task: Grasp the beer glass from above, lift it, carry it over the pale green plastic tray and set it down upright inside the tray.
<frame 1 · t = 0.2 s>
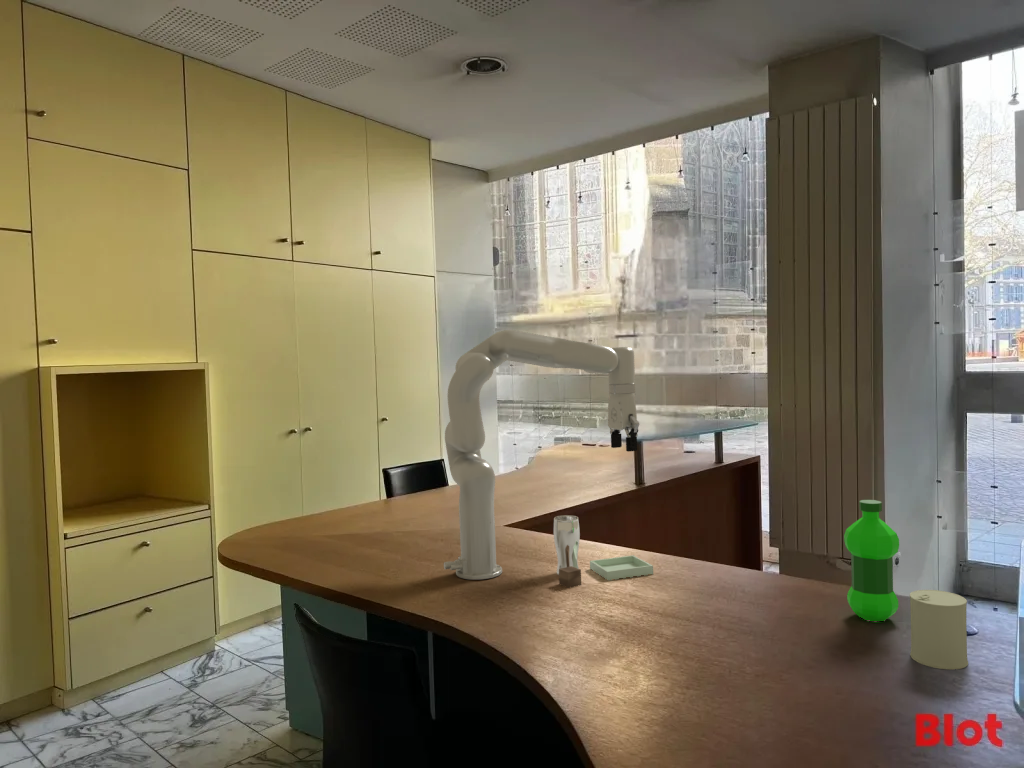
hand: (623, 449, 212), 31 cm above the table, tool pointing down, fingers open, 9 cm apart
beer glass: (568, 574, 197), on the table
walnut block: (570, 584, 187), on the table
can: (938, 660, 135), on the table
tray: (621, 571, 196), on the table
plastic bottle: (872, 618, 156), on the table
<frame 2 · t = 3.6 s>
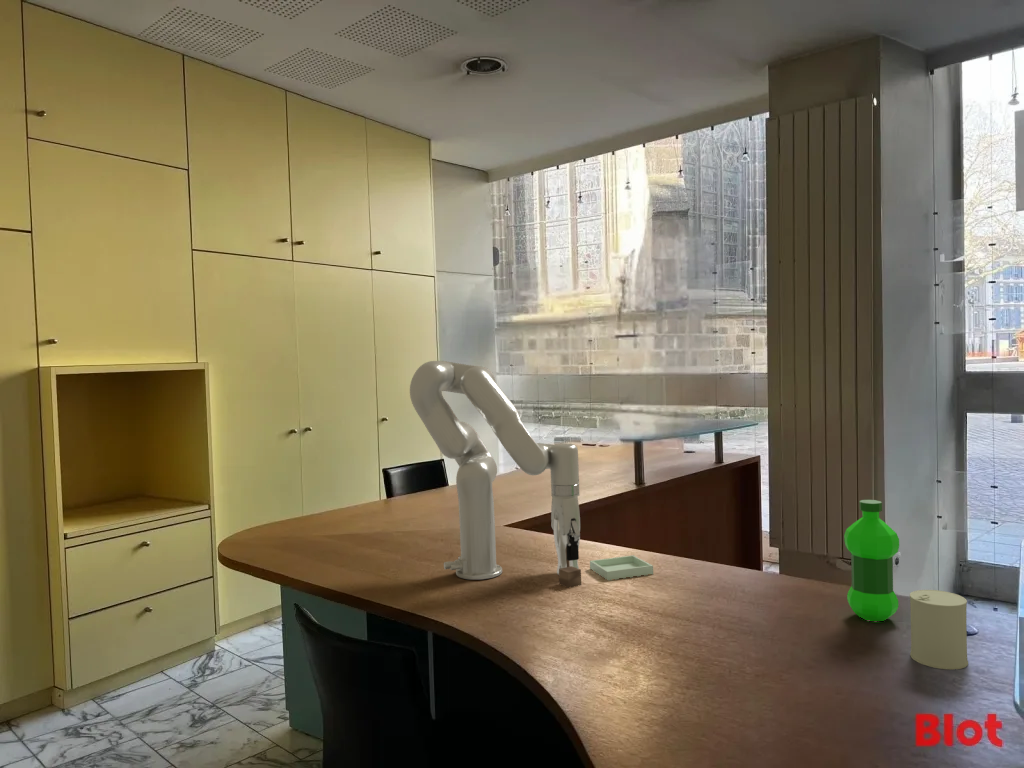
hand: (567, 556, 197), 5 cm above the table, tool pointing down, fingers closed on beer glass, 6 cm apart
beer glass: (568, 574, 197), on the table, touching gripper
everything else where it was.
when the fingers open (6 cm above the table, at t = 9.2 s): beer glass drops 1 cm, resting on tray.
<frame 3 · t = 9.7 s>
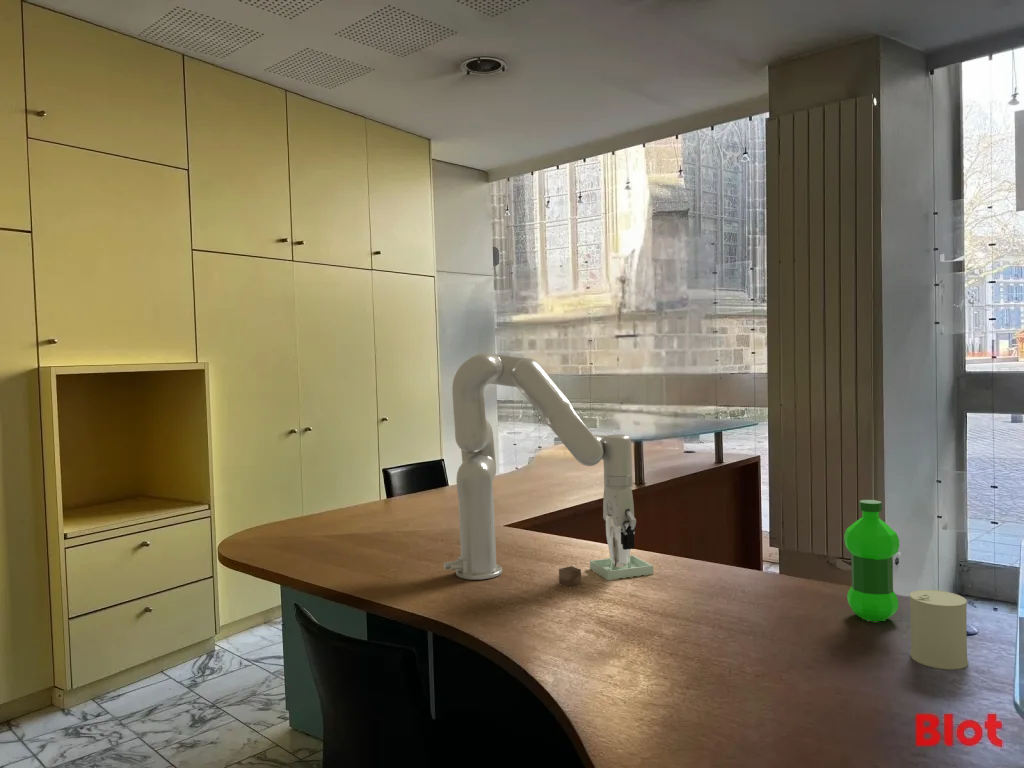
hand: (620, 544, 196), 7 cm above the table, tool pointing down, fingers open, 9 cm apart
beer glass: (620, 570, 196), resting on tray
everything else where it was.
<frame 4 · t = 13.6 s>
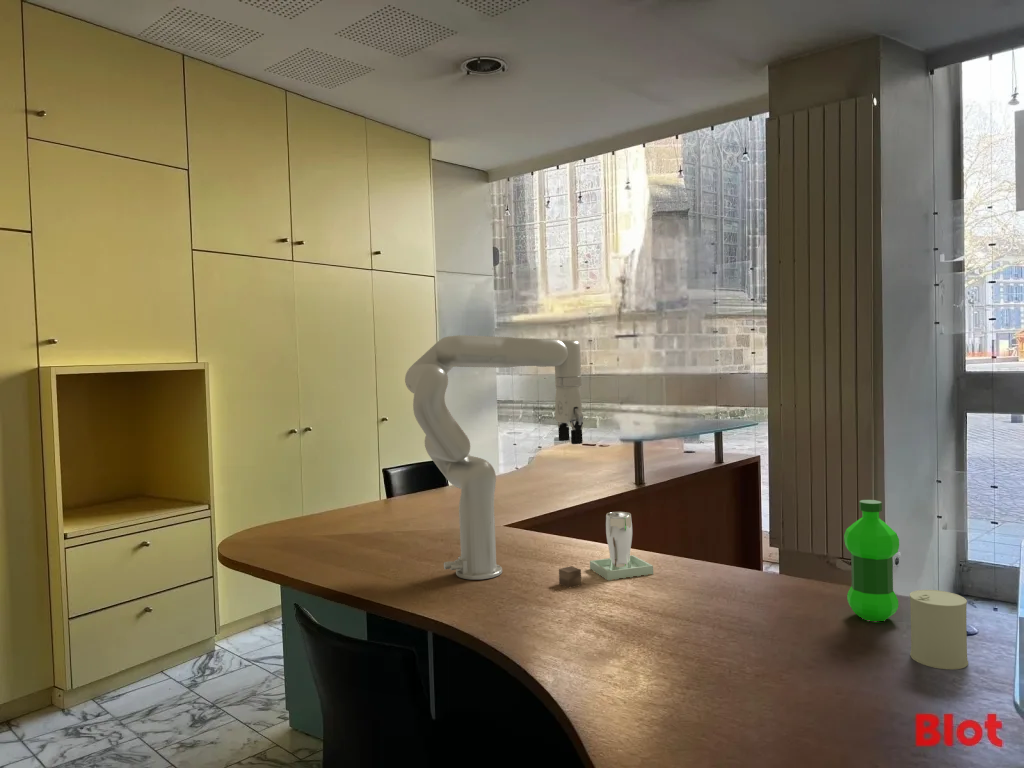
hand: (570, 442, 212), 33 cm above the table, tool pointing down, fingers open, 9 cm apart
nothing on the table moved.
at the end: beer glass inside the target area on the tray (0.2 cm from its centre), point 0.3 cm above the tray's base; beer glass tilted 0°; the gripper is holding nothing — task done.
